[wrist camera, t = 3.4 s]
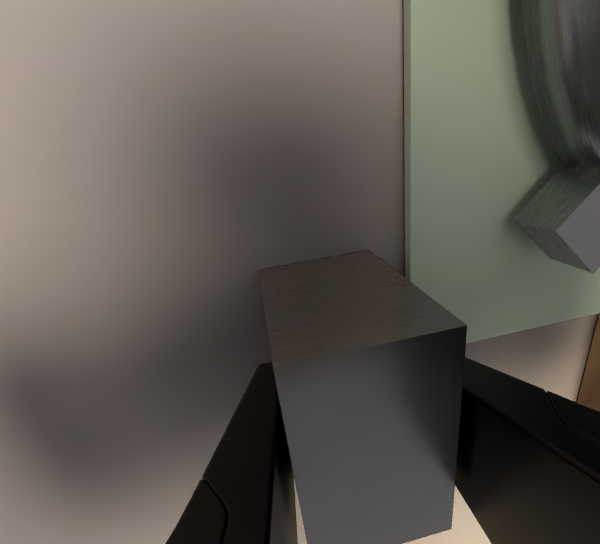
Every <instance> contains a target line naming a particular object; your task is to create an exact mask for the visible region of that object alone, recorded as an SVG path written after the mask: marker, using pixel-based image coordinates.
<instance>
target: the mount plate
mask: <svg viewBox="0 0 600 544" xmlns="http://www.w3.org/2000/svg"><path fill="white" fill-rule="evenodd" d="M404 157H405V278H406V279H408V280H409V281H410V282H412V283H413V284H414V285H416V286H417V287H418V288H419V289H421V290H422V291H423V292H425V293H426V294H427V295H429V296H430V297H431V298H432V299H434V300H435V301H436V302H438V303H439V304H440V305H442V306H443V307H444V308H445V309H447V310H448V311H449V312H451V313H452V314H453V315H455V316H456V317H457V318H458V319H460V320H461V321H462V322H464V323H465V324H466V325H467V336H466V344H467V343H472V342H476V341H480V340H485V339H489V338H493V337H498V336H502V335H507V334H511V333H515V332H520V331H524V330H528V329H533V328H537V327H542V326H546V325H550V324H555V323H559V322H563V321H568V320H572V319H577V318H581V317H585V316H590V315H594V314H598V313H600V267H599V268H598V269H597V270H596V271H595V272H594V273H590V272H588V271H585V270H582V269H579V268H576V267H573V266H570V265H568V264H565V263H562V262H559V261H556V260H553V259H550V258H549V257H548V256H547V255H546V254H545V253H544V252H543V251H542V250H541V249H540V248H539V247H538V246H537V245H536V244H535V243H534V242H533V241H532V240H531V239H530V238H529V237H528V236H527V234H526V233H525V232H524V231H523V230H522V229H521V228H520V227H519V226H518V225H517V224H516V223H515V222H514V221H513V219H514V218H515V217H516V216H517V215H518V214H519V213H520V212H521V211H522V209H523V208H524V207H525V206H526V205H527V204H528V203H529V202H530V200H531V199H532V198H533V197H534V196H535V195H536V194H537V193H538V191H539V190H540V189H541V188H542V187H543V186H544V185H545V184H546V182H547V181H548V180H549V179H550V178H551V177H552V176H553V175H554V173H555V172H556V171H557V170H558V169H559V168H560V167H561V164H560V163H559V161H558V158H557V156H556V154H555V152H554V149H553V147H552V145H551V142H550V140H549V138H548V136H547V133H546V131H545V129H544V126H543V123H542V120H541V116H540V112H539V109H538V105H537V101H536V98H535V94H534V91H533V87H532V83H531V78H530V71H529V64H528V57H527V51H526V44H525V37H524V30H523V8H522V0H404Z"/></svg>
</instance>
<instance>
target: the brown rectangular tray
mask: <svg viewBox="0 0 600 544" xmlns="http://www.w3.org/2000/svg"><path fill="white" fill-rule="evenodd" d="M577 403H579V404H582V405H584V406H587V407H589V408H592V409H594V410H597V411H600V313H599V317H598V321H597V325H596V329H595V333H594V337H593V341H592V345H591V349H590V353H589V357H588V361H587V365H586V369H585V373H584V376H583V380H582V384H581V388H580V392H579V396H578V400H577Z"/></svg>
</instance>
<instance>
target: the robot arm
mask: <svg viewBox="0 0 600 544" xmlns="http://www.w3.org/2000/svg"><path fill="white" fill-rule="evenodd" d="M455 486H456V487H457V489H458V490H459V492H460V494H461V495H462V497H463V498H464V500H465V502H466V503H467V505H468V506H469V508H470V510H471V511H472V513H473V514H474V516H475V518H476V519H477V521H478V523H479V524H480V526H481V527H482V529H483V531H484V532H485V534H486V535H487V537H488V539H489V540H490V542H491V543H492V544H600V411H597V410H594V409H592V408H589V407H587V406H584V405H582V404H579V403H576V402H574V401H571V400H569V399H566V398H564V397H561V396H559V395H557V394H554V393H552V392H549V391H547V392H545V390H544V389H542V388H539V387H537V386H534V385H532V384H529V383H527V382H524V381H522V380H520V379H517V378H515V377H512V376H510V375H507V374H505V373H502V372H500V371H497V370H495V369H492V368H490V367H488V366H485V365H483V364H480V363H478V362H475V361H473V360H470V359H468V358H465V361H464V374H463V386H462V399H461V412H460V424H459V437H458V450H457V462H456V475H455ZM166 544H298V542H297V525H296V509H295V492H294V475H293V467H292V462H291V457H290V452H289V447H288V442H287V437H286V432H285V427H284V422H283V417H282V411H281V406H280V401H279V396H278V391H277V386H276V381H275V376H274V371H273V365H272V361H270V362H265V363H261V364H259V365H258V367H257V369H256V371H255V373H254V375H253V377H252V379H251V381H250V383H249V385H248V387H247V389H246V391H245V393H244V395H243V397H242V399H241V401H240V403H239V405H238V407H237V409H236V411H235V413H234V415H233V417H232V419H231V421H230V423H229V425H228V427H227V428H226V430H225V432H224V434H223V436H222V438H221V440H220V442H219V444H218V446H217V448H216V450H215V452H214V454H213V456H212V458H211V460H210V462H209V464H208V466H207V468H206V470H205V472H204V474H203V476H202V480H200V481H199V483H198V485H197V487H196V489H195V491H194V493H193V495H192V497H191V499H190V501H189V503H188V505H187V507H186V509H185V510H184V512H183V514H182V516H181V518H180V520H179V522H178V523H177V525H176V527H175V529H174V530H173V532H172V534H171V535H170V537H169V539H168V540H167V542H166Z"/></svg>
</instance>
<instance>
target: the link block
mask: <svg viewBox="0 0 600 544" xmlns="http://www.w3.org/2000/svg"><path fill="white" fill-rule="evenodd" d="M258 277H259V283H260V289H261V296H262V302H263V308H264V314H265V321H266V327H267V333H268V340H269V346H270V352H271V359H272V365H273V371H274V376H275V381H276V386H277V391H278V396H279V401H280V406H281V411H282V417H283V422H284V427H285V432H286V437H287V442H288V447H289V452H290V457H291V462H292V467H293V473H294V478H295V483H296V488H297V493H298V498H299V503H300V508H301V513H302V518H303V524H304V529H305V534H306V539H307V544H403V543H406V542H409V541H413V540H416V539H419V538H423V537H426V536H429V535H433V534H436V533H439V532H443V531H446V530H449V529H451V526H452V513H453V500H454V488H455V475H456V462H457V450H458V437H459V424H460V412H461V399H462V386H463V374H464V361H465V348H466V336H467V325H466V324H465V323H464V322H462V321H461V320H460V319H458V318H457V317H456V316H455V315H453V314H452V313H451V312H449V311H448V310H447V309H445V308H444V307H443V306H442V305H440V304H439V303H438V302H436V301H435V300H434V299H432V298H431V297H430V296H429V295H427V294H426V293H425V292H423V291H422V290H421V289H419V288H418V287H417V286H416V285H414V284H413V283H412V282H410V281H409V280H408V279H406V278H405V277H404V276H403V275H401V274H400V273H399V272H397V271H396V270H395V269H393V268H392V267H391V266H390V265H388V264H387V263H386V262H384V261H383V260H382V259H380V258H379V257H378V256H377V255H375V254H374V253H373V252H371V251H370V250H365V251H360V252H354V253H349V254H344V255H338V256H333V257H327V258H322V259H316V260H311V261H305V262H300V263H295V264H289V265H284V266H278V267H273V268H267V269H262V270H258Z"/></svg>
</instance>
